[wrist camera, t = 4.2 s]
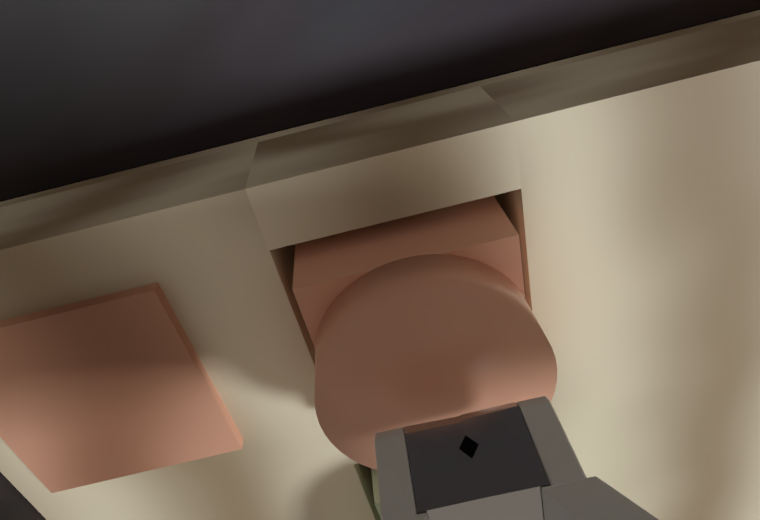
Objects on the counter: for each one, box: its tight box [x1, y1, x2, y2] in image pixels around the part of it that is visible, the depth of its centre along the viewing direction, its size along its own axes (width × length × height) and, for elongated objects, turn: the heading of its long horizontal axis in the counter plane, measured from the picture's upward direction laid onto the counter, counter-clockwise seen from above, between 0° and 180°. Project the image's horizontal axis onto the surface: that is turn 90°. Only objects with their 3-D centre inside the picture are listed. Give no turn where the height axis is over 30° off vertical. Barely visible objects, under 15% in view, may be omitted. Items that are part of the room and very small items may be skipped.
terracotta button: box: [292, 196, 557, 470], centre depth 12 cm, size 5×5×3 cm
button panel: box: [0, 10, 760, 520], centre depth 17 cm, size 22×22×3 cm
